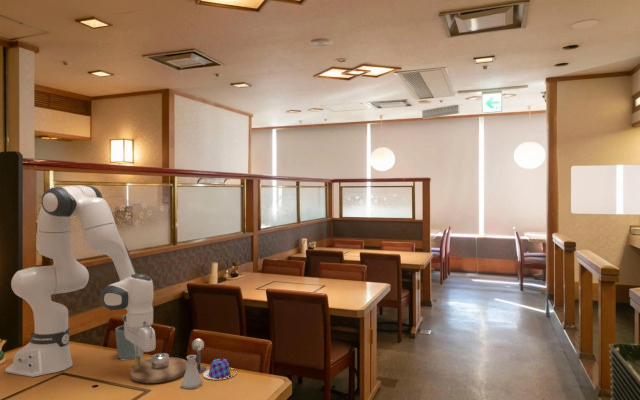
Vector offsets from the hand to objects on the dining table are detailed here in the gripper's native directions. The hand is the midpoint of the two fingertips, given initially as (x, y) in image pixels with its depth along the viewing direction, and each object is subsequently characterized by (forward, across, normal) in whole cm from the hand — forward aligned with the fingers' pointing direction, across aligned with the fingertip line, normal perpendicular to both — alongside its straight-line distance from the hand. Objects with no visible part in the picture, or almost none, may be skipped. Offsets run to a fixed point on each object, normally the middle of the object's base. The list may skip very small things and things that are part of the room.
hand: (139, 357), depth 162 cm
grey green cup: (+8, +24, -5) cm, 26 cm away
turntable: (+7, -3, -6) cm, 10 cm away
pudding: (+7, -19, -22) cm, 30 cm away
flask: (+6, -21, -10) cm, 24 cm away
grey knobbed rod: (+6, -10, -18) cm, 22 cm away
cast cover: (+4, -3, -6) cm, 8 cm away
